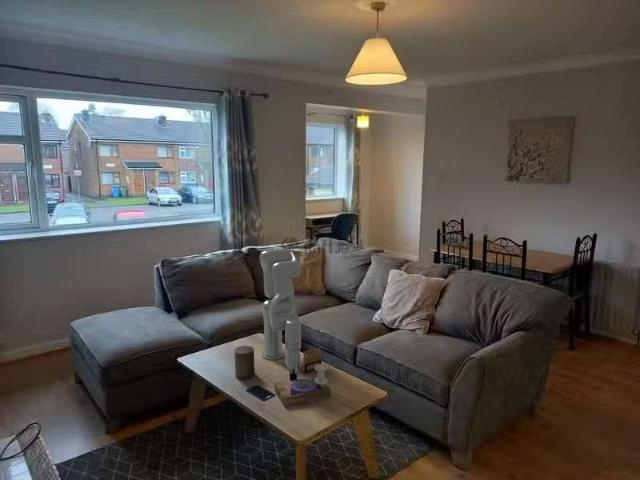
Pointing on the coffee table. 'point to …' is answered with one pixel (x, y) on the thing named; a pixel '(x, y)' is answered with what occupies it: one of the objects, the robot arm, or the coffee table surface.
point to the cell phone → (260, 392)
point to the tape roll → (302, 386)
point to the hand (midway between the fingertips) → (293, 380)
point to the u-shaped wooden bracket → (288, 400)
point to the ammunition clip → (311, 360)
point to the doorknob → (320, 374)
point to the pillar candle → (244, 362)
